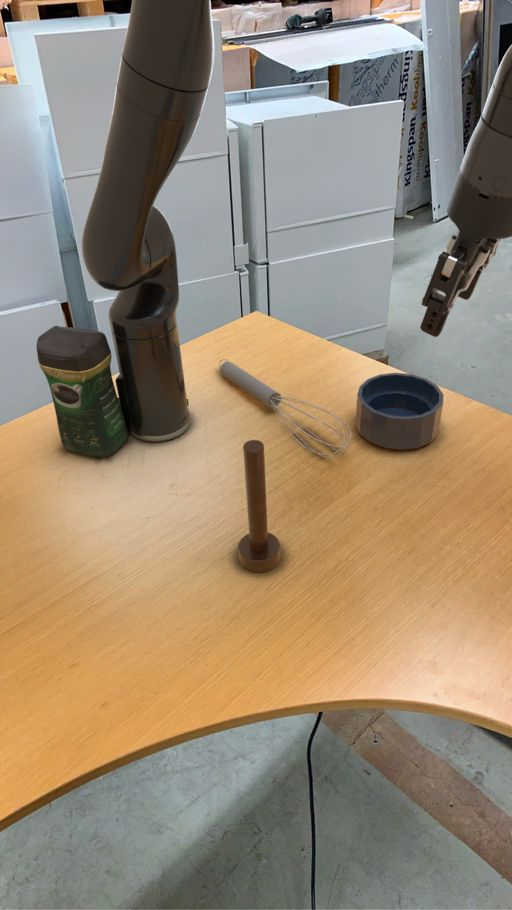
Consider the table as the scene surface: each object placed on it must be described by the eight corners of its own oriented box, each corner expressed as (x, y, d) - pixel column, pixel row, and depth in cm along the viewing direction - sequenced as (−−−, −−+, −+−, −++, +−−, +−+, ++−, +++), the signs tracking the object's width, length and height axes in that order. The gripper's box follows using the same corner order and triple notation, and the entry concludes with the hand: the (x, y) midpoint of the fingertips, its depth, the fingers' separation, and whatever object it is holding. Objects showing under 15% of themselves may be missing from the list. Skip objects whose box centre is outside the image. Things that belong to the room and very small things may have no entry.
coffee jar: (136, 433, 101) (115, 324, 89) (109, 464, 95) (83, 351, 84) (84, 422, 104) (57, 315, 93) (54, 451, 98) (21, 340, 87)
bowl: (351, 447, 96) (352, 413, 92) (361, 402, 105) (363, 369, 101) (436, 457, 93) (442, 422, 90) (439, 409, 102) (444, 376, 99)
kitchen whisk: (234, 364, 116) (231, 332, 112) (359, 459, 94) (362, 423, 90) (204, 375, 114) (201, 342, 110) (326, 475, 91) (327, 439, 87)
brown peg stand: (234, 569, 78) (224, 457, 68) (245, 539, 82) (236, 429, 71) (275, 575, 77) (271, 463, 67) (284, 545, 81) (281, 434, 70)
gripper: (491, 135, 66) (441, 272, 78) (433, 187, 58) (387, 330, 70) (563, 161, 63) (499, 298, 76) (512, 219, 55) (450, 361, 68)
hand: (445, 313), depth 73 cm, fingers open, 8 cm apart
